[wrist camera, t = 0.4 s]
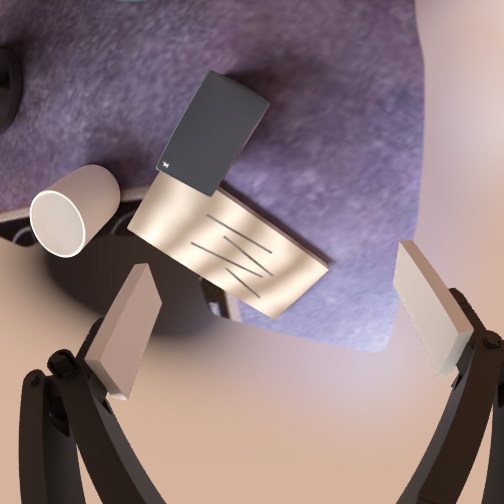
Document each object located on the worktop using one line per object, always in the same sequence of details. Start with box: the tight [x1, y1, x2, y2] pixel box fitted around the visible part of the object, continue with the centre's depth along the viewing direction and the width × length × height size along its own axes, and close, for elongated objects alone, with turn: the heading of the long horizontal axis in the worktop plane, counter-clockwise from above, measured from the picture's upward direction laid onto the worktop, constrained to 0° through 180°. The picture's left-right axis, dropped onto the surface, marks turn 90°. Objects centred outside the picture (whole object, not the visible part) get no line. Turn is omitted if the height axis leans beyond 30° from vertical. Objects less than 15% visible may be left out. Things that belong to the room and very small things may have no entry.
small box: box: [156, 70, 270, 197], centre depth 29 cm, size 11×6×10 cm, turn 148°
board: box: [127, 171, 329, 319], centre depth 41 cm, size 26×12×2 cm, turn 53°
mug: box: [30, 165, 120, 257], centre depth 35 cm, size 9×12×11 cm
